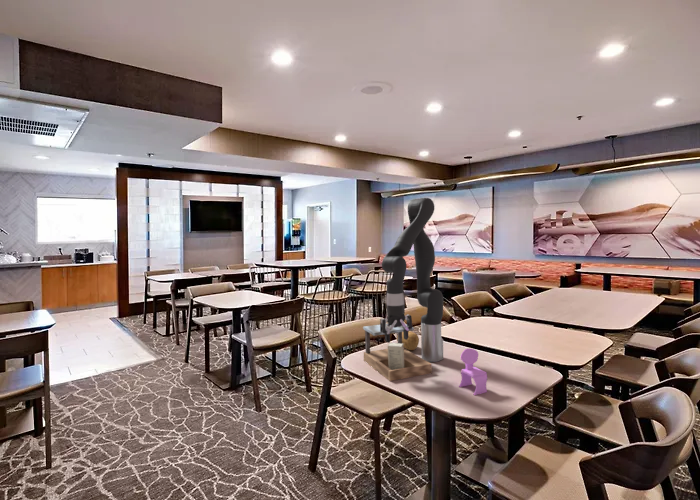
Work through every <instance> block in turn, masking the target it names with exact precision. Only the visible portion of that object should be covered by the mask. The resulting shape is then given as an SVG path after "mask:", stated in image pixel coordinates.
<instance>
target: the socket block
mask: <svg viewBox="0 0 700 500" xmlns="http://www.w3.org/2000/svg"><path fill="white" fill-rule="evenodd" d="M387 324H388V323H386V326H387ZM405 324H406V326H407V323H405ZM386 326H385V329H386ZM362 329H363V330H364V334H365V336H364V337H365V351H363V362H365V361H366V362H367V363H368V364H367V363H366V362H365V363H366V364H367V365H369V366H370V367H371V366H372V367H373V368H372V367H371V368H372V369H374V370H375V371H376V372H377V371H378V372H377V373H379V374H380V375H381V376H383V378H385V379H387V381H389V382H393V381H398V380H402V379H407V378H413V377H419V376H424V375H429V374H432V372H433V371H432V367H433V366H432V365H433V364H432V363H431V362H429V361H426V360H424V359H422V357H421V356H418V355H417V354H415V353H414V352H412V351H410V350H408V349H406V348H404V367H405V368H400V369H394V370H391V369H390V368H389V367H388V348H384V349H377V350H376V349H375V350H371V336H370V335H372V336H375V337H376V336H381V335H385V333H382V332H380V324H374V325H367V326H365V325H364V326H362ZM403 330H404V329H403V328H402V326H401V327H396V328H394V327H393V329H392V330H391V331H390V333H389V334H397V335H398V341H397V343H401V344H402V332H403ZM414 330H415V327H413V326H412V329H409V330H408V331H411V332H414Z"/></svg>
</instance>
